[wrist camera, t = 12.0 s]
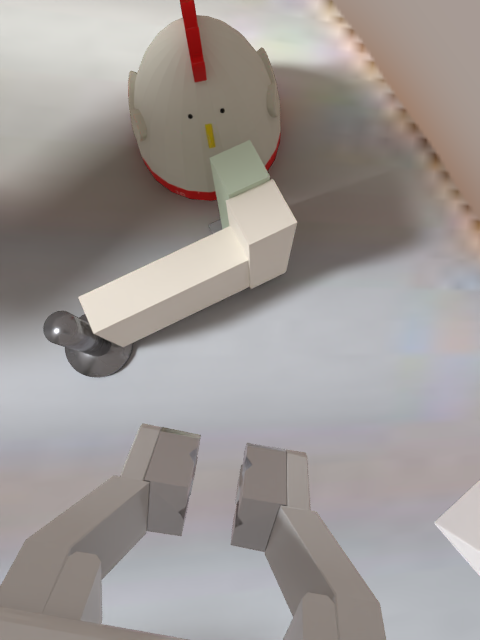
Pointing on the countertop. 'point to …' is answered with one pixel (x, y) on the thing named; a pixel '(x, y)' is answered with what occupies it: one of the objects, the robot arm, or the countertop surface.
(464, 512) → the milk
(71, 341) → the hinge post
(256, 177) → the latch post
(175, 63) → the kitchen timer
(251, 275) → the cream l-shaped block
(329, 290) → the countertop surface
